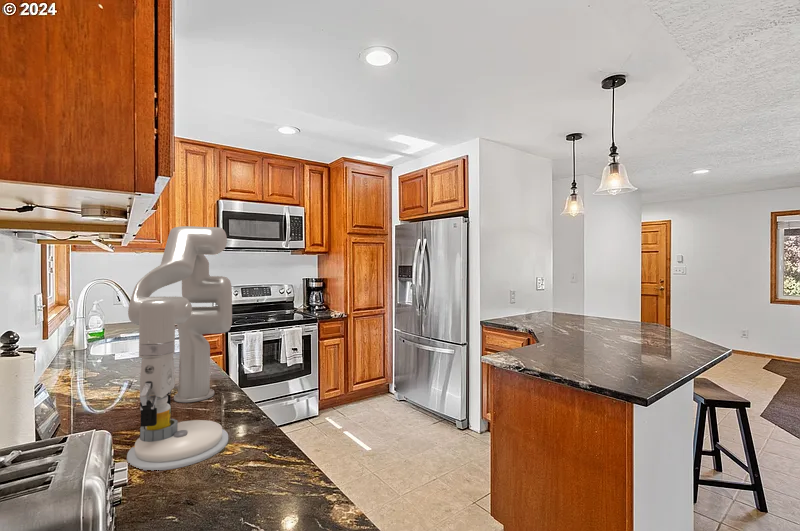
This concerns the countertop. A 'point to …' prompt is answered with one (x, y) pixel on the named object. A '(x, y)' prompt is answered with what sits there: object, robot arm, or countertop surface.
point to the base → (176, 463)
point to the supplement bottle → (161, 414)
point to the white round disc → (177, 440)
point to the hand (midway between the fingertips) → (156, 417)
